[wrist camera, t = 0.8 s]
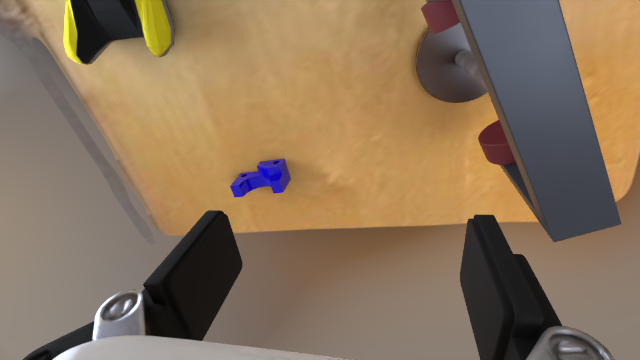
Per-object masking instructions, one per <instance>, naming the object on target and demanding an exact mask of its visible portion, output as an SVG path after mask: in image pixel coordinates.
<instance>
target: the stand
mask: <svg viewBox="0 0 640 360" xmlns="http://www.w3.org/2000/svg"><path fill="white" fill-rule="evenodd" d="M416 70H417V74H418V77H419V79H420V82H421V84H422V85H423V87H424V88H425V89H426V91H427V92H429V93H430V94H431V95H432V96H434V97H435V98H437V99H439V100H442V101H446V102H453V103H459V102H467V101H470V100H474V99H476V98H478V97H481V96H482V95H484V94H486V93H487V92H488V90H487V88H486V85H485V83H484V80H483V78H482V75H481V73H480V70H479V68H478V65H477V63H476V60H475V58H474V55H473V53H472V50H471V48H470V45H469V43H468V40H467V38H466V35H465V33H464V30H463V28H462V25H461V23H459V24H457V25H455V26H453V27H451V28H449V29H447V30H445V31H442V32H440V33H437V34H432V33H431V31H430V28H429V29H428V30H427V31H426V33H425V34H424V36H423V38H422V40H421V42H420V44H419V47H418V50H417V55H416Z"/></svg>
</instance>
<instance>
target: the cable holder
mask: <svg viewBox="0 0 640 360" xmlns="http://www.w3.org/2000/svg"><path fill="white" fill-rule="evenodd" d="M257 168H258V171H257V172H249V173H241V174H240V175H239V176H238V178H237V179H236V180H235V181H234V182H233V183H232V184H231V186H230V187H231V190H232V192H233V194H234V197H243V196H244V195H245V194H246V193H248V192H249V191H251V190H253V189H256V188H259V187H263V186H270V187H272V190H273V193H281V192H284V190H285V188H286V186H287V184H288V183H289V181H290V175H289V172H288V169H287V166H286V162H285V159H280V160H273V161H265V162H260V163H259V165H258V166H257Z"/></svg>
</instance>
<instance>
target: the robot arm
mask: <svg viewBox="0 0 640 360" xmlns="http://www.w3.org/2000/svg"><path fill="white" fill-rule="evenodd" d="M241 269H242V260H241V256H240V253H239V250H238V247H237V244H236V241H235V238H234V235H233V231H232V228H231V225H230V222H229V219H228V216H227V215H226V214H224V212H223V211H211V210H209V211H207V212H206V213H205V214H204V215H203V216H202V217H201V218H200V220H199V221H198V222H197V223H196V224H195V225H194V226H193V228H192V229H191V230H190V231H189V232H188V233H187V234H186V236H185V237H184V238H183V239H182V240H181V241H180V242H179V244H178V245H177V246H176V247H175V248H174V249H173V250H172V252H171V253H170V254H169V255H168V256H167V257H166V258H165V260H164V261H163V262H162V263H161V264H160V265H159V267H158V268H157V269H156V270H155V271H154V272H153V273H152V275H151V276H150V277H149V278H148V279H147V280H146V281H145V283H144V284H143V285H144V287H145V289H144V290H143V291H142V292H141V291H139V290H136V289H131V290H126V291H123V292H120V293H118V294H116V295H114V296H113V297H111V298H110V299H108V300H107V301H106V302H105V303H104V304H103V305H102V306H101V307H100V308H99V310H98V311H97V314H96V317H95V321H93V322H92V323H89V324H87V325H85V326H83V327H81V328H79V329H77V330H75V331H73V332H71V333H69V334H67V335H65V336H62V337H60V338H59V339H57V340H55V341H52V342H50V343H48V344H46V345H44V346H42V347H40V348H38V349H37V350H35V351H33V352H32V353H30V354H29V355H28V356H26V357H25V358H24V359H23V360H351V359H343V358H335V357H327V356H319V355H312V354H303V353H296V352H288V351H279V350H271V349H263V348H255V347H247V346H238V345H230V344H221V343H213V342H205V341H202V340H203V338H204V336H205V335H206V333H207V331H208V329H209V327H210V326H211V324H212V322H213V320H214V318H215V317H216V315H217V313H218V311H219V309H220V308H221V306H222V304H223V302H224V300H225V298H226V297H227V295H228V293H229V291H230V289H231V287H232V286H233V284H234V282H235V280H236V279H237V277H238V275H239V273H240V271H241ZM460 282H461V287H462V291H463V294H464V298H465V302H466V306H467V310H468V314H469V317H470V321H471V325H472V329H473V333H474V337H475V341H476V344H477V348H478V352H479V356H480V360H615V359H614V358H613V356H612V355H611V354H610V352H609V351H608V350H607V349H606V348H605V347H604V346H603V345H602V344H601V343H600V342H599V341H597V340H596V339H594V338H593V337H591V336H590V335H588V334H586V333H584V332H582V331H580V330H577V329H574V328H570V327H566V326H562V324H561V322H560V320H559V319H558V317H557V315H556V313H555V311H554V309H553V308H552V306H551V304H550V302H549V300H548V298H547V297H546V295H545V293H544V291H543V289H542V287H541V286H540V283H539V282H538V280H537V278H536V276H535V274H534V272H533V271H532V269H531V267H530V265H529V263H528V261H527V260H526V258H525V257H524V256H523V255H521V254H513V253H512V251H511V249H510V247H509V245H508V243H507V241H506V239H505V237H504V235H503V233H502V231H501V229H500V227H499V225H498V223H497V221H496V219H495V217H494V216H493V215H475V216H474V218H473V219H468V222H467V229H466V236H465V243H464V250H463V257H462V264H461V271H460Z"/></svg>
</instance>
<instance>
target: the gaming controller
mask: <svg viewBox="0 0 640 360" xmlns="http://www.w3.org/2000/svg"><path fill="white" fill-rule="evenodd" d="M174 31H175V29H174V25H173V22H172V19H171V16H170V13H169V10H168V7H167V4H166V2H165V0H66V5H65V21H64V37H63V44H64V47H65V50H66V53H67V56H68V57H69V58H71V59H72V60H74V61H75V62H77V63H80V64H85V65H87V64H92V63H93V62H94V61H95V60H96V58H97V57H98V56H99V55H100V54H101V53H102V52H103V51H104V50H105V49H106V48H107V46H108V45H109V44H110V43H112V42H113V41H115V40H121V39H129V38H138V37H145V40H146V43H147V47H148V48H149V49H150V51H151V52H152V53H153V54H154V55H155V56H157V57H162V56H164V55H166V54H167V53H168V51H169V50H170V48H171V47H172V45H173V44H174Z"/></svg>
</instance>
